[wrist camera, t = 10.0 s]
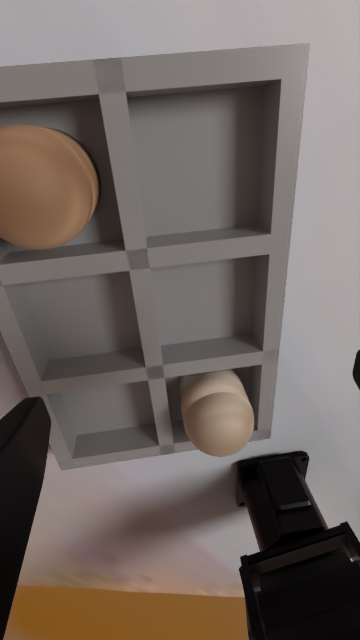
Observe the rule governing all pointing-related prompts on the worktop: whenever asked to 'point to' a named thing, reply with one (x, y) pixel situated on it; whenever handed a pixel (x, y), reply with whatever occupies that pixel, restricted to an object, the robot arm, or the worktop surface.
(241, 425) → the beige rounded cylinder
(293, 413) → the worktop surface
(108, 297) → the grey egg tray
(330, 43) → the worktop surface
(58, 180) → the brown egg
